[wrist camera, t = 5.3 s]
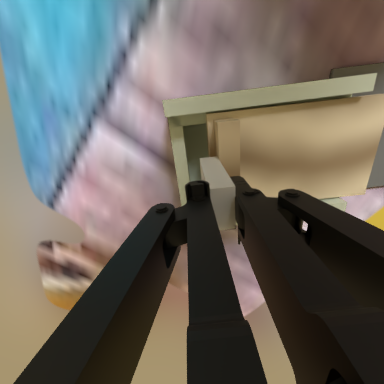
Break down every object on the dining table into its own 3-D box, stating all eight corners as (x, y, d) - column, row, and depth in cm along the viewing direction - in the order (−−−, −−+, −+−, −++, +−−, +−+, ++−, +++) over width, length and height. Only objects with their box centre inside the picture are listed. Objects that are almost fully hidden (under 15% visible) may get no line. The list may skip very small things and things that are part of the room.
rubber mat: (331, 69, 20) (333, 68, 20) (450, 54, 20) (454, 53, 20) (312, 192, 26) (314, 193, 26) (405, 181, 26) (408, 182, 25)
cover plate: (205, 113, 17) (210, 115, 14) (379, 93, 17) (426, 91, 14) (211, 204, 21) (216, 223, 18) (355, 189, 21) (387, 205, 17)
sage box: (169, 101, 21) (162, 100, 15) (320, 81, 21) (377, 72, 15) (183, 200, 26) (183, 231, 20) (306, 186, 26) (344, 213, 20)
